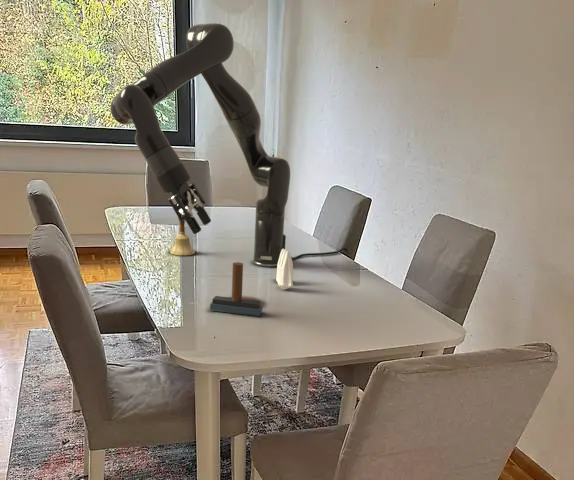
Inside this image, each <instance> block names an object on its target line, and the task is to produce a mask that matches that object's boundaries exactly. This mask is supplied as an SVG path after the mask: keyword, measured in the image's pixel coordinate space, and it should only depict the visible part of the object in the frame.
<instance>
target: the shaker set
mask: <svg viewBox="0 0 574 480" xmlns="http://www.w3.org/2000/svg"><path fill="white" fill-rule="evenodd" d="M291 257H292V255H291V252H290V251H289V250H287V249H286V248H285V249H282V251H281V253H280V257H279V260H278V264H277V266H276V278H275V280H276V282H277V286H278V287H279V288H280V289H282V290H288V289H291V288H292V287H293V286H294V280H293V279H294V263H293V260H292V258H291Z"/></svg>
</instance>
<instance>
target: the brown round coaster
mask: <svg viewBox="0 0 574 480" xmlns="http://www.w3.org/2000/svg"><path fill="white" fill-rule="evenodd" d="M242 299H247V300H256V301H260V300H259V299H256V298H252V297H243V296H242ZM261 305H263V302H262V301H261ZM263 306H264V305H263Z"/></svg>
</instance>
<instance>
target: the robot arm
mask: <svg viewBox="0 0 574 480" xmlns="http://www.w3.org/2000/svg"><path fill="white" fill-rule="evenodd" d="M185 44H186V49H187V50H185V51H183V52H181V53H179V54H176V55H174V56H171V57H170V58H167V59H165V60H162V61H161V62H159V63H157V64H156V65H155V66H153V67H152V68H150V69H148V71H146V72H145V73H144V74H142V76H141V77H140V78H139V79H138V80H137V81H136V82H135V83H133V84H127V85H125V86H124V87H123V88H122V89H121V90H120V91H119V92H118V93H117V94H116V95H115V96H114V97H113V98H112V99H111V102H110V113H111V116H112V118H113V119H114V120H115V121H116V122H117V123H119V124H121V125H125V126H129V125H130V126H131V125H132V124H133V125H134V127H135V128H134V129H135V130H136V133H135V136H134V143H135V145H136V146H137V148H138V150H139V151H140V153H141V155H142V156H143V158H144V159H145V161H146V164H147V165H148V168H149V170H150V171H151V173H152V175H153V176H154V178H155V179H156V181H157V183H158V184H159V186H160V188H161V189H162V191H163V192H164V194H167V195H168V194H170V193H171V195H172V196H171V197H169V198H168V199H167V200H168V202H169V204H170V206H171V207H172V209H173V211H174V213H175V214H176V216H177V219H178V218H179V219H180V221H182V220H184V221H185V223H186V224H187V225H188V227H189V229H190V231H191V232H192V234H193V235H197V234H199V233H200V232H202V228H201V226H200V224H199V223H198V220H197V219H196V217H195V216H194V212H193V210H194V211H195V212H196V215H197V216H198V218H199V220H200V221H201V223H202V225H204V226H206V225H208V224H210V223H211V222H212V219H211V217H210V215H209V214H208V213H207V211H206V209H205V205H206V201H205V199H204V198H203V196H202V195H201V193H200V191H199V189H198V188H197V186H196V185H195V183H193V182H192V183H190V184H188V182H189V181H190V180H191V176H190V173H189V172H188V170H187V169H186V167H185V165H184V164H183V162H182V160H181V159H180V157H179V155H178V153H177V152H176V150H175V149H174V148H173V147H172V145H171V144H170V142H169V140H168V139H167V137H166V135H165V134H164V132H163V130H162V128H161V126H160V122H159V119H158V116H157V113H156V110H155V108H154V107H155V106H156V105H158V104H160V103H161V102H163V101H164V100H165V99H167V98H168V97H169V96H171V95H172V94H173V93H175V92H176V91H177V90H178V89H179V88H181V87H183V86H184V85H185V84H187V83H188V82H190V81H191V80H193V79H194V78H196V77H197V76H199V75H201V77H203V79H204V80H205V82H206V84H207V86H208V87H209V89H210V90H211V93H212V95H213V97H214V99H215V100H216V102H217V104H218V106H219V108H220V110H221V111H222V114H223V116H224V118H225V120H226V123H227V124H228V126H229V128H230V130H231V132H232V133H233V135H234V137H235V139H236V141H237V143H238V146H239V148H240V150H241V152H242V154H243V156H244V159H245V162H246V164H247V167H248V170H249V172H250V175H251V177H252V179H253V180H254V182H255V183H256V185H259V186H260V187H262V188H263V187H264V188H267V191H266V196H264V197H263V198H262V197H261V198H259V199H257V200H256V202H255V217H254V218H255V220H254V221H255V222H254V241H253V242H254V244H253V261H252V262H253V264H254V265H256V266H260V267H266V268H267V267H268V268H273V267H277V264H278V260H279V257H280V253H281V251H282V249H285V250H286V241H287V240H286V239H287V236H286V234H284V229H285V214H286V213H285V211H286V205H287V203H288V200H289V193H290V192H289V191H290V183H291V166H290V164H289V162H288V161H287V159H285V158H282V157H277V156H270V155H269V154H267V152H266V150H265V148H264V147H263V144H262V142H261V138H260V137H261V127H262V126H261V125H262V121H261V120H262V118H261V115H260V112H259V110H258V108H257V106H256V104H255V102H254V99H253V98H252V96H251V94H250V93H249V92H248V91H247V89H246V88H245V87H244V86H242V85H241V83H239V81H237V80H236V79H235V78H234V77H233V75H231V74H230V73H229V72H228V71H227V69H226V68H225V66H224V64H223V63H226V62H227V61H228V60H229V59H230V58H231V56H232V54H233V51H234V48H235V47H234V44H235V42H234V35H233V34H232V32H231V30H230V29H229V28H228V27H227V26H226V25H225V24H222V23H216V22H211V23H200V24H199V23H198V24H194V25H192V26H190V27H189V28H188V30H187V32H186V34H185ZM180 213H181V214H182V215H181V214H180ZM179 219H178V220H179ZM342 251H345V252H349V251H348V249H347V248H346V247H341V248H340V249H338V250H334V251H327V252H326V251H325V252H310V253H301V254H299V255H296V256H295V257H292V256H291V258H292V261H293V260H297V259H299V258H301V257H307V256H325V255H334V254H339V253H341V252H342Z"/></svg>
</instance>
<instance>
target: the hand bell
mask: <svg viewBox="0 0 574 480" xmlns="http://www.w3.org/2000/svg"><path fill="white" fill-rule="evenodd" d="M180 214H181V213H180ZM181 215H182V214H181ZM177 219H178V222H179V234H178V235H176V236H175V240H174V241H175V242H174V245H173V247H172V249H171V250H170V251H169V252H170V254H171V255H174V256H182V257H183V256H185V257H186V256H192V255H195V254H196V251H195V249H193V247H192V245H191V242H190V236H188V235H186V231H185V229H186V228H185V223H186V221H184V220H182V221H180V219H179V218H178V217H177Z"/></svg>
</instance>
